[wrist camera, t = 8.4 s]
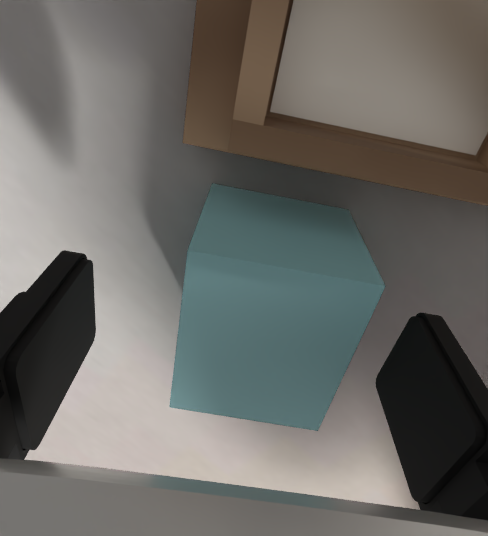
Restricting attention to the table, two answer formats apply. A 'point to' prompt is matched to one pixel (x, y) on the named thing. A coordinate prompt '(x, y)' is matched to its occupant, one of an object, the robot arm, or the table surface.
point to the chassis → (347, 88)
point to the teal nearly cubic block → (271, 308)
